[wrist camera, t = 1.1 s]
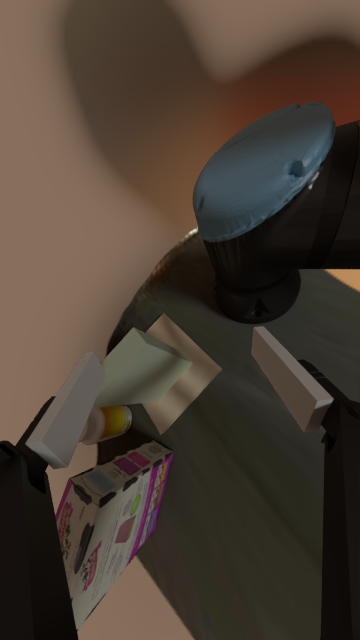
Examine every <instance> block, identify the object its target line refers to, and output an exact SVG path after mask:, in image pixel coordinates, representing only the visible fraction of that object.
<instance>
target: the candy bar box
mask: <svg viewBox="0 0 360 640" xmlns="http://www.w3.org/2000/svg"><path fill="white" fill-rule="evenodd" d="M172 457H173V451H172V450H170V449H168V448H166V447H164V446H163V445H161V444H159V443H158V442H156V441H154V440H151V441H149V442H147V443H145V444H143V445H141V446H138V447H136V448H134V449H132V450H130V451H127V452H125V453H123V454H121V455H119V456H117V457H115V458H112V459H110V460H108V461H106V462H104V463H102V464H99V465H97V466H95V467H93V468H91V469H89V470H87V471H85V472H82V473H80V474H78V475H76V476H74V477H71V478H69V480H68V482H67V485H66V488H65V491H64V494H63V496H62V499H61V502H60V504H59V507H58V510H57V513H56V515H55V518H56V523H57V528H58V534H59V539H60V544H61V549H62V555H63V560H64V565H65V571H66V576H67V581H68V587H69V592H70V597H71V603H72V608H73V613H74V619H75V624H76V629H77V631H78V629H79V628H80V627H81V626H82V625H83V623H84V622H85V620H86V619H87V618H88V617H89V615H90V614H91V613H92V612H93V610H94V609H95V608H96V606H97V605H98V604H99V602H100V601H101V599H102V598H103V597H104V596H105V594H106V593H107V592H108V590H109V589H110V588H111V586H112V585H113V584H114V583H115V581H116V580H117V578H118V577H119V576H120V574H121V573H122V572H123V571H124V569H125V568H126V566H127V565H128V564H129V563H130V561H131V560H132V559H133V557H134V556H135V555H136V554H137V552H138V551H139V550H140V548H141V547H142V546H143V544H144V543H145V542H146V540H147V539H148V538H149V536H150V535H151V534H152V533H153V531H154V530H155V527H156V523H157V518H158V514H159V510H160V506H161V502H162V498H163V493H164V489H165V485H166V481H167V477H168V473H169V469H170V465H171V461H172Z"/></svg>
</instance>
